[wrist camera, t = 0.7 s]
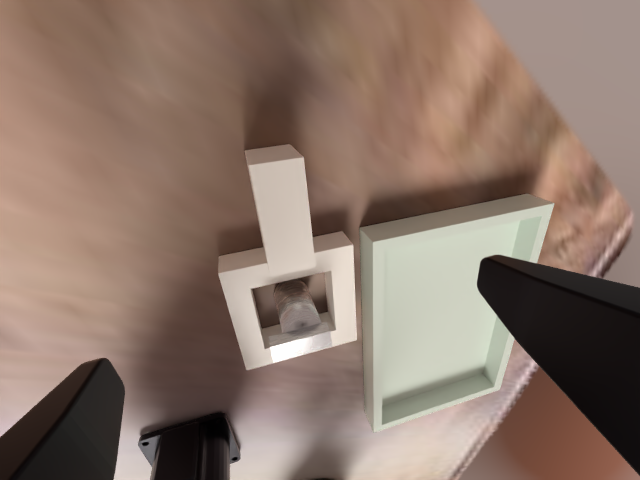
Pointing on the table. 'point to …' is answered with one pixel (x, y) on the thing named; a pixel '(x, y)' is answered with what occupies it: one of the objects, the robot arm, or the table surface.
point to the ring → (285, 255)
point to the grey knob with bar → (297, 322)
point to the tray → (438, 305)
